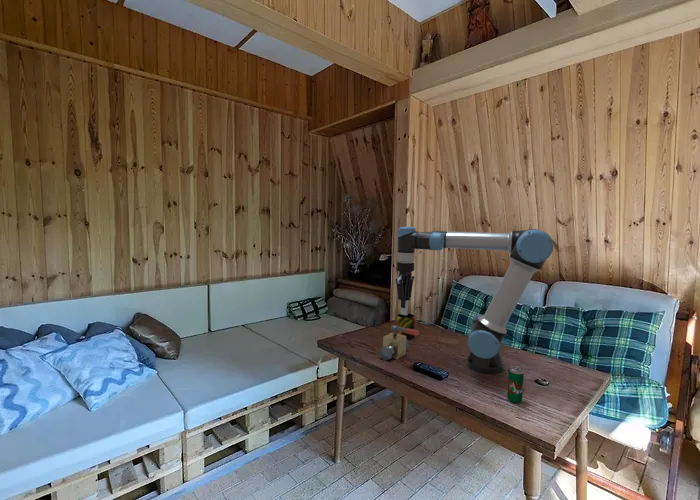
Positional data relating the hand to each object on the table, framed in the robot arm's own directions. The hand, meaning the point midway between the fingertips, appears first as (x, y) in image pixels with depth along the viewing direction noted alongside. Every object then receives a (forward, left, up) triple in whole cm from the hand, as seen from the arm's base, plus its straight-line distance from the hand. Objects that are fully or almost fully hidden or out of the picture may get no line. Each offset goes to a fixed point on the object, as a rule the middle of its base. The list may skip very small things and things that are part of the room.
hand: (404, 314), depth 152 cm
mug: (+18, -33, -23) cm, 44 cm away
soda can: (-47, +2, -23) cm, 52 cm away
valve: (+8, -7, -23) cm, 25 cm away
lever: (+3, -7, -13) cm, 15 cm away
